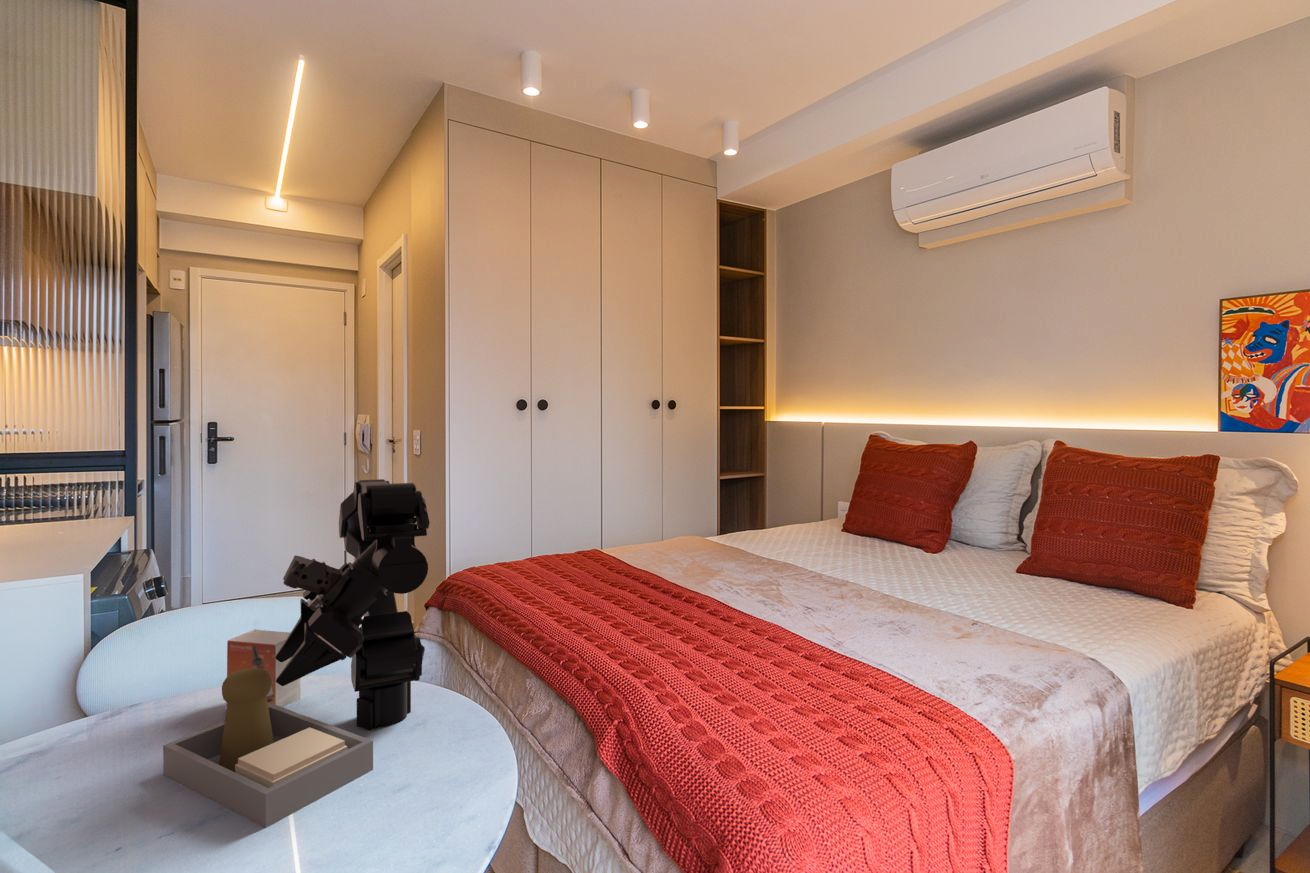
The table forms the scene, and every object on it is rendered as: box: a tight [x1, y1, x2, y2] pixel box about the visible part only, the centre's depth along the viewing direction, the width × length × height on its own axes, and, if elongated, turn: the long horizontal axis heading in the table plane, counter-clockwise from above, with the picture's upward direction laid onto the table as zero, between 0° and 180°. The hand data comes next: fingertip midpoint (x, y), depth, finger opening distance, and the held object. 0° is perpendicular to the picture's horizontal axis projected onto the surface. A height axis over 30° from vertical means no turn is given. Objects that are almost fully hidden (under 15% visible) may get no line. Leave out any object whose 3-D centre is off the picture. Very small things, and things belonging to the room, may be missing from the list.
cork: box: [219, 668, 274, 772], centre depth 82 cm, size 6×6×11 cm
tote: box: [162, 704, 374, 829], centre depth 79 cm, size 13×20×4 cm, turn 61°
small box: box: [226, 628, 302, 708], centre depth 99 cm, size 8×6×10 cm
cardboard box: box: [235, 727, 347, 788], centre depth 77 cm, size 9×7×4 cm
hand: (278, 671), depth 83 cm, fingers open, 9 cm apart
